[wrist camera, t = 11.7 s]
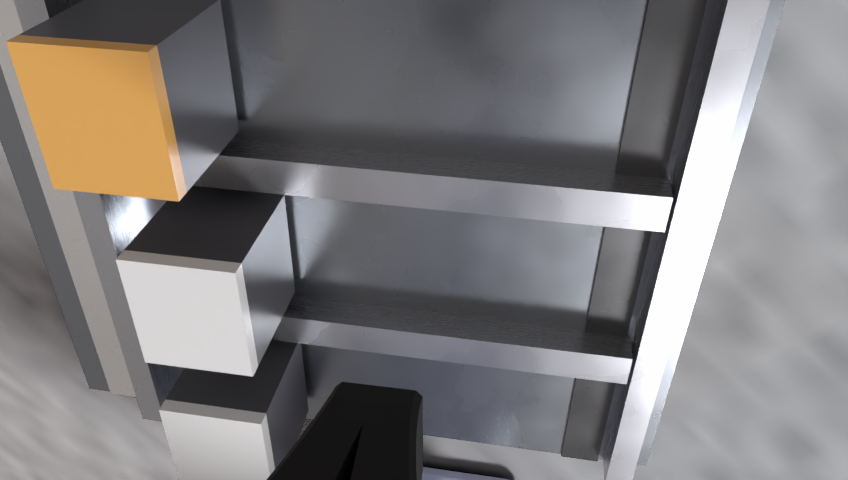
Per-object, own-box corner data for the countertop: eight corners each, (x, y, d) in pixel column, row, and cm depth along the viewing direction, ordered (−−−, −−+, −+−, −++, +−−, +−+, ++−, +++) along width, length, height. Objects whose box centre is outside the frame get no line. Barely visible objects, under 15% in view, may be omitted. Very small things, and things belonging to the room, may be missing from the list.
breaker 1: (295, 291, 22) (252, 376, 19) (200, 280, 22) (145, 362, 19) (284, 194, 20) (235, 273, 17) (181, 184, 20) (115, 259, 17)
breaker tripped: (239, 130, 19) (178, 201, 16) (132, 121, 19) (53, 188, 16) (220, -1, 17) (147, 52, 14) (100, -9, 17) (5, 41, 14)
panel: (642, 437, 25) (648, 490, 23) (106, 365, 27) (74, 408, 25) (780, -45, 16) (808, -19, 14) (-44, -88, 18) (-110, -71, 16)
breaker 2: (308, 410, 25) (274, 499, 22) (225, 398, 25) (180, 485, 22) (300, 336, 23) (261, 424, 20) (210, 325, 23) (158, 410, 20)
